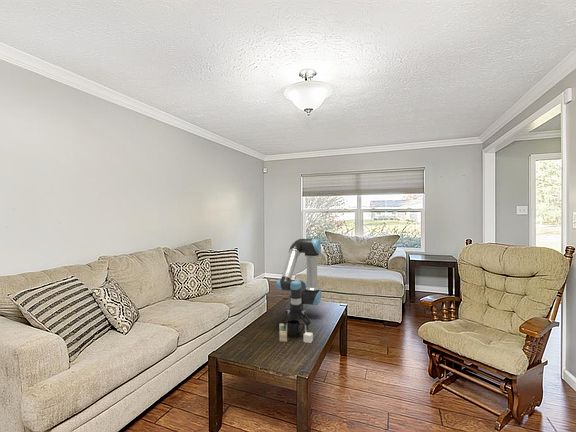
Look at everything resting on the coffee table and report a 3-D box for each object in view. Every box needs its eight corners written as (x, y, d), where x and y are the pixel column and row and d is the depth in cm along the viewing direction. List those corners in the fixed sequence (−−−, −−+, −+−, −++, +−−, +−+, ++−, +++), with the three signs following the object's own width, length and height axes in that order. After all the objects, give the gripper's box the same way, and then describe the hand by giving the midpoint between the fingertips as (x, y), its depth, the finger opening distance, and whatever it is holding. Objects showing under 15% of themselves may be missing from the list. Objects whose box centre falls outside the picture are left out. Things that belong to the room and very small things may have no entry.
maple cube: (279, 338, 205) (279, 331, 205) (286, 338, 205) (286, 331, 205) (279, 341, 200) (279, 334, 200) (287, 341, 200) (287, 334, 200)
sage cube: (279, 330, 220) (279, 323, 219) (285, 329, 221) (285, 322, 221) (281, 332, 215) (281, 326, 215) (287, 332, 216) (287, 325, 216)
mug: (301, 339, 203) (301, 325, 203) (285, 336, 209) (285, 322, 209) (306, 334, 211) (306, 321, 211) (291, 332, 216) (291, 318, 216)
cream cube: (305, 339, 204) (305, 331, 204) (312, 340, 202) (312, 332, 202) (303, 342, 199) (303, 334, 199) (310, 343, 197) (310, 335, 197)
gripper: (277, 304, 207) (277, 335, 208) (313, 305, 204) (313, 336, 204) (279, 301, 215) (279, 330, 215) (314, 302, 212) (314, 332, 212)
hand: (296, 333), depth 210 cm, fingers open, 13 cm apart
